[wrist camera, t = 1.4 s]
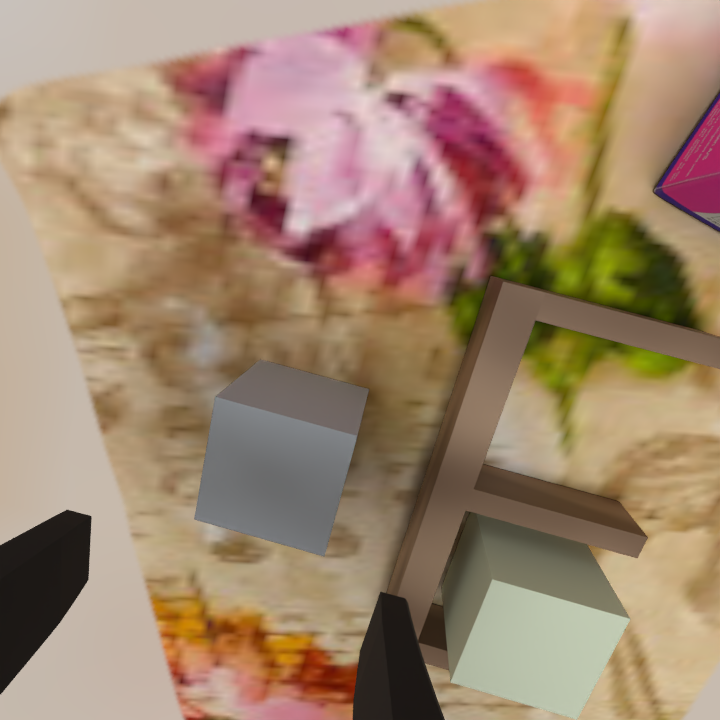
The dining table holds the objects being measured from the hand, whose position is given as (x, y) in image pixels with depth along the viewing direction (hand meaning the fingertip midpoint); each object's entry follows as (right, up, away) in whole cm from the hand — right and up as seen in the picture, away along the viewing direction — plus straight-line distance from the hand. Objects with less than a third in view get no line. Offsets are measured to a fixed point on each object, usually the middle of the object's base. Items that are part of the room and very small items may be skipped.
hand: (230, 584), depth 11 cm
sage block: (+10, -4, +11) cm, 15 cm away
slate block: (+1, +2, +10) cm, 10 cm away
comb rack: (+11, 0, +9) cm, 15 cm away
